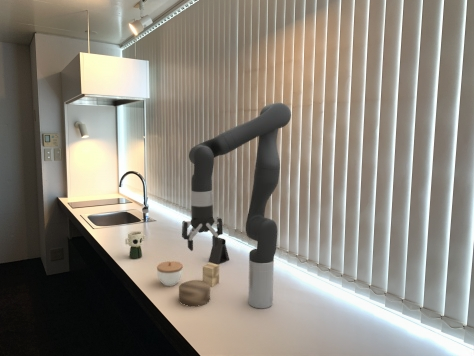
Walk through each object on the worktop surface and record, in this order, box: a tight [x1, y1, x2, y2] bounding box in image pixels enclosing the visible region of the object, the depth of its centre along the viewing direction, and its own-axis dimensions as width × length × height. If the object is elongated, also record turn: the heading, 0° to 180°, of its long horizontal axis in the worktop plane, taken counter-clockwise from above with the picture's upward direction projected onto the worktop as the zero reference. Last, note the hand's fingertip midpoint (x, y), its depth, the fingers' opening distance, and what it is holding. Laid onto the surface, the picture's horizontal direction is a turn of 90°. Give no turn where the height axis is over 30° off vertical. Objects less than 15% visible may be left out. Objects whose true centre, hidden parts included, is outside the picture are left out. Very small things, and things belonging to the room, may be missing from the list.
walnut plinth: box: [178, 279, 211, 307], centre depth 136 cm, size 12×12×5 cm
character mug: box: [125, 230, 146, 259], centre depth 180 cm, size 11×7×13 cm, turn 136°
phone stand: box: [208, 237, 230, 266], centre depth 176 cm, size 9×6×12 cm, turn 138°
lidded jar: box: [156, 260, 184, 287], centre depth 150 cm, size 11×11×9 cm
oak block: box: [202, 262, 220, 288], centre depth 150 cm, size 5×5×8 cm
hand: (202, 248), depth 124 cm, fingers open, 8 cm apart
